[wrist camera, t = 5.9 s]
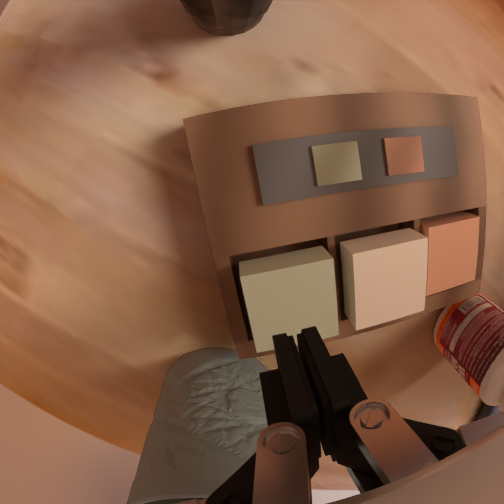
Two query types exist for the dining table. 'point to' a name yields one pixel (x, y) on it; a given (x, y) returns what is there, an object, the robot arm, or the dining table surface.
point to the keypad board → (333, 182)
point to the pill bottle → (475, 345)
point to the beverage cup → (226, 14)
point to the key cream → (384, 276)
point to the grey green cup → (201, 427)
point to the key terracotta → (450, 249)
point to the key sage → (290, 295)
